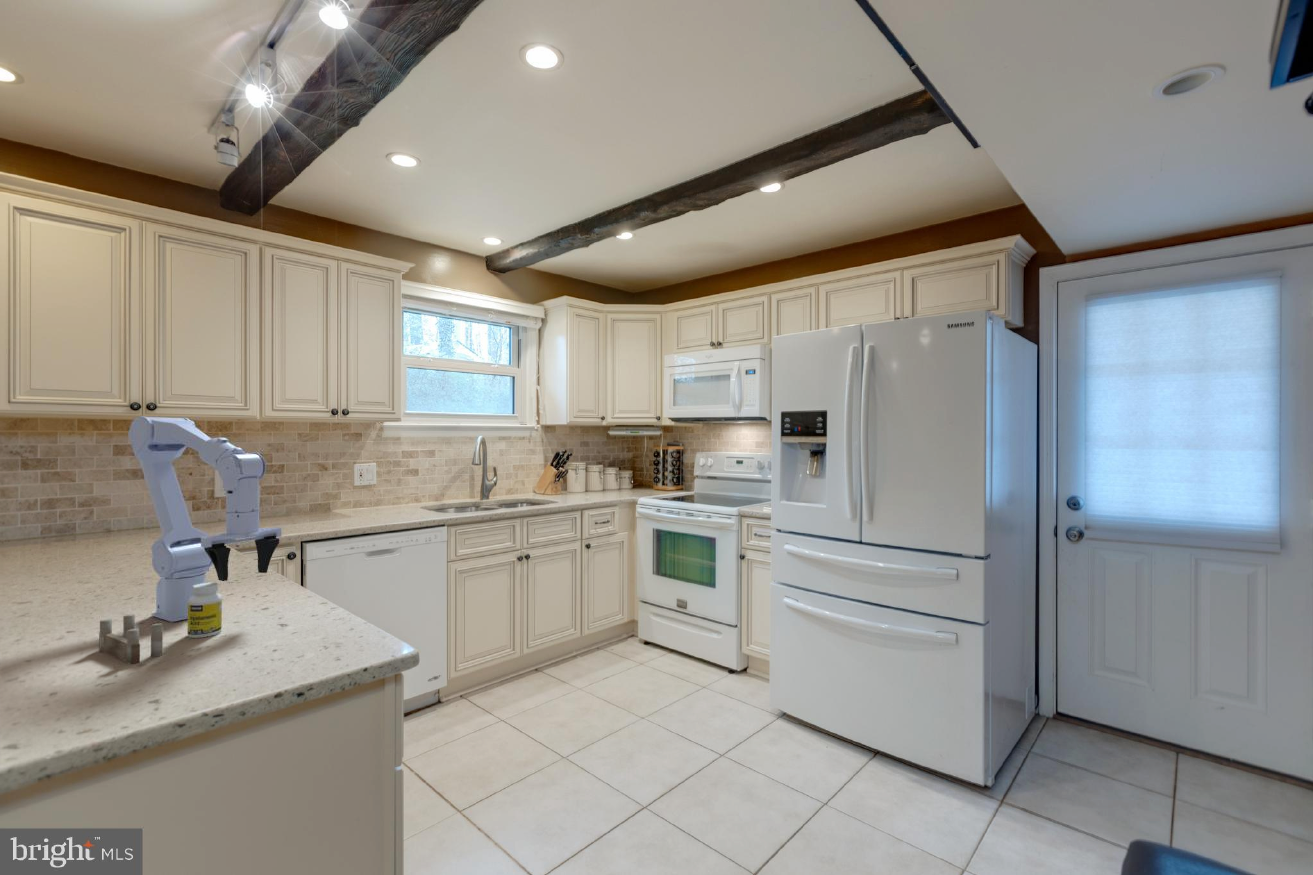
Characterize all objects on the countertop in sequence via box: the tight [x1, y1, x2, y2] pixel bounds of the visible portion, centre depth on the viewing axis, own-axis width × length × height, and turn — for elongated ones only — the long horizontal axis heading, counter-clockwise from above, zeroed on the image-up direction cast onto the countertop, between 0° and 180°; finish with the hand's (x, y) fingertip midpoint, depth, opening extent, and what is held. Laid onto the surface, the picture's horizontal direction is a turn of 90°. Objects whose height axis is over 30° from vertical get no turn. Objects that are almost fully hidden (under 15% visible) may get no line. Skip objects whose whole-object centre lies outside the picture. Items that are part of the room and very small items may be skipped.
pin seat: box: [98, 613, 164, 665], centre depth 107 cm, size 13×5×6 cm, turn 62°
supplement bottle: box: [187, 582, 223, 639], centre depth 117 cm, size 5×5×10 cm
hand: (243, 576), depth 123 cm, fingers open, 7 cm apart
